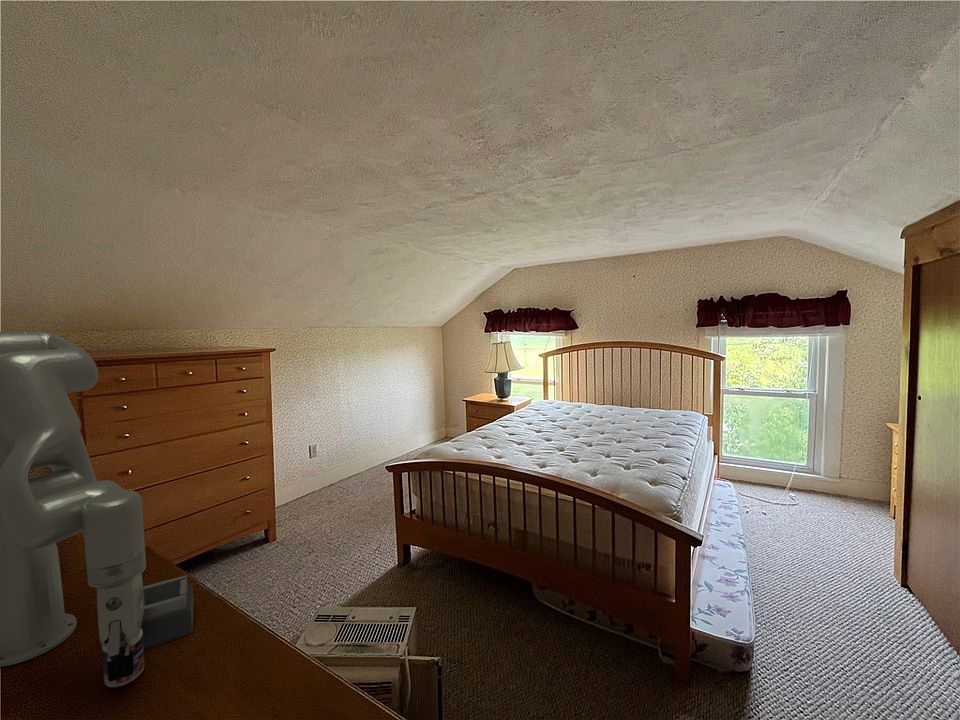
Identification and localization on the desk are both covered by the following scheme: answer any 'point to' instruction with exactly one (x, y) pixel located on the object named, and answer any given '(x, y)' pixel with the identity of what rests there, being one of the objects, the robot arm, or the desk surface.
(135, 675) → the pill bottle
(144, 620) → the grey open box
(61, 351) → the robot arm
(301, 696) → the desk surface
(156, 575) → the desk surface
